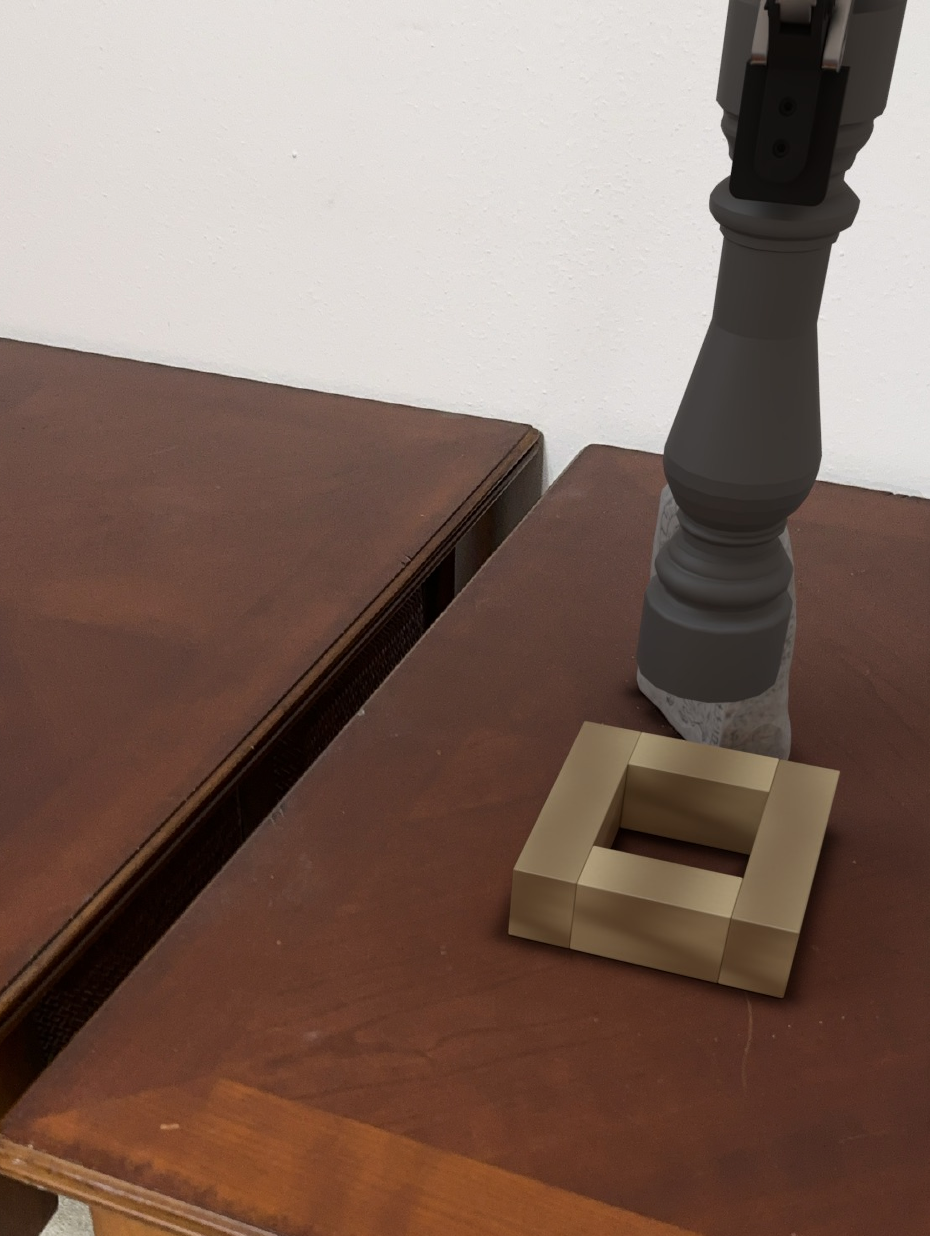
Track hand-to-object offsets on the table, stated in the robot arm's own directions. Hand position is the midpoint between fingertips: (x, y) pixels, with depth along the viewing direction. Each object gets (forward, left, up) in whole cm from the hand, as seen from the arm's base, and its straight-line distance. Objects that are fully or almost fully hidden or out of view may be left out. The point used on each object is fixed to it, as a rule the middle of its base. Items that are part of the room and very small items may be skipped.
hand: (792, 167), depth 53 cm
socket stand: (0, 0, -32) cm, 32 cm away
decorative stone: (+1, -14, -32) cm, 35 cm away
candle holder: (0, 0, -20) cm, 20 cm away
